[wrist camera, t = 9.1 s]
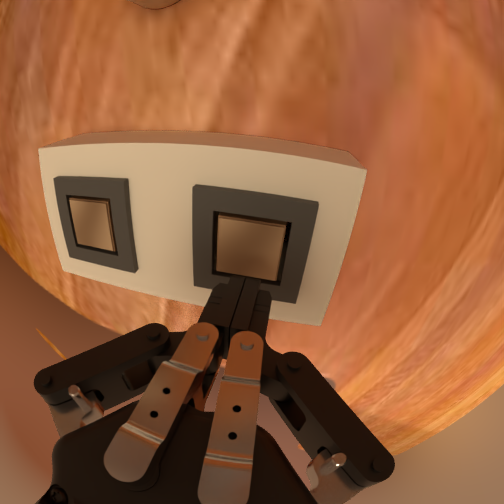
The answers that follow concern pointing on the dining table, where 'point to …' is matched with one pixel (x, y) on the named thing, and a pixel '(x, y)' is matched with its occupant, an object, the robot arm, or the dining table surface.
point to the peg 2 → (249, 245)
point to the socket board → (204, 210)
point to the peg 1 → (93, 222)
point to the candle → (154, 3)
